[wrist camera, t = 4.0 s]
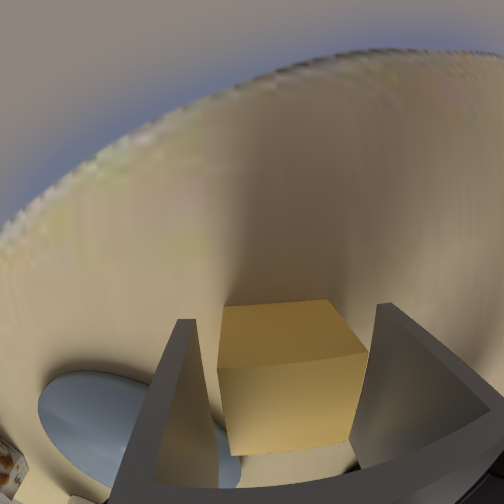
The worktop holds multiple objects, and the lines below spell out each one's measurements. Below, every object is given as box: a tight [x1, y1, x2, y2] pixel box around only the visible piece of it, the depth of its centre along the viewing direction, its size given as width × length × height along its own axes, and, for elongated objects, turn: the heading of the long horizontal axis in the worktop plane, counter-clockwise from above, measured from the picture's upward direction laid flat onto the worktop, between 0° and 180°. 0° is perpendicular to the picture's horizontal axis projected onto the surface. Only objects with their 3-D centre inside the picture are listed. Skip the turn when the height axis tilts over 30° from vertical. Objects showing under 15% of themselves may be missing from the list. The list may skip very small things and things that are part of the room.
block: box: [217, 299, 368, 456], centre depth 11 cm, size 5×5×5 cm
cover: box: [107, 302, 504, 504], centre depth 6 cm, size 7×7×7 cm
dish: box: [38, 371, 241, 488], centre depth 14 cm, size 16×16×1 cm
